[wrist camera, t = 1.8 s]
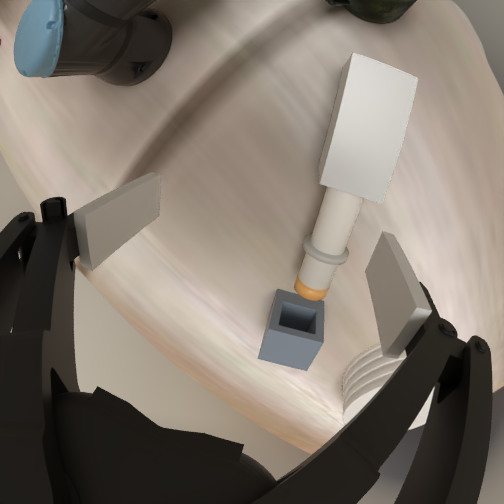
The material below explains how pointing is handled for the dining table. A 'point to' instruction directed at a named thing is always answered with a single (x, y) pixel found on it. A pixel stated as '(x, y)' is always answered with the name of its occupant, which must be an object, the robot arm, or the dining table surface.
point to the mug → (376, 8)
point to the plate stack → (372, 382)
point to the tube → (327, 243)
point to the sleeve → (366, 128)
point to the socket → (293, 331)
